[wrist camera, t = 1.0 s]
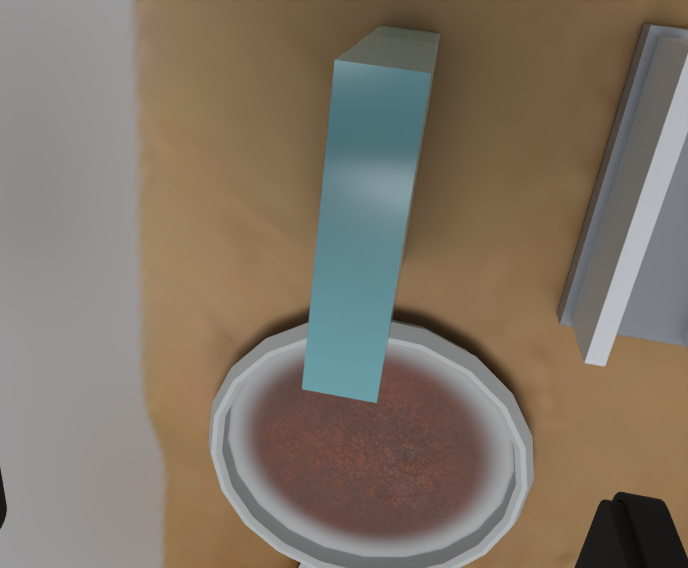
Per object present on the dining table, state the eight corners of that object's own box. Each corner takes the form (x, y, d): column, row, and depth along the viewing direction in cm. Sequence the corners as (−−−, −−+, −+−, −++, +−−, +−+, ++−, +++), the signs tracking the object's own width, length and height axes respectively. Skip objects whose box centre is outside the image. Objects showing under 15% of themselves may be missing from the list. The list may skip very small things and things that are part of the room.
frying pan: (144, 632, 42) (244, 275, 29) (162, 593, 45) (262, 249, 31) (390, 722, 42) (603, 408, 29) (394, 678, 45) (592, 371, 31)
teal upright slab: (380, 25, 26) (334, 59, 16) (440, 33, 25) (431, 73, 16) (351, 253, 30) (301, 388, 20) (402, 261, 30) (376, 402, 20)
